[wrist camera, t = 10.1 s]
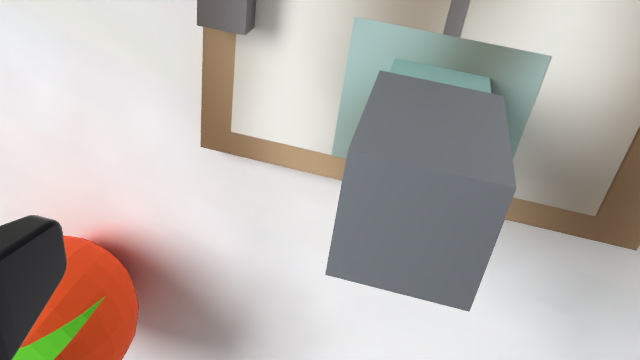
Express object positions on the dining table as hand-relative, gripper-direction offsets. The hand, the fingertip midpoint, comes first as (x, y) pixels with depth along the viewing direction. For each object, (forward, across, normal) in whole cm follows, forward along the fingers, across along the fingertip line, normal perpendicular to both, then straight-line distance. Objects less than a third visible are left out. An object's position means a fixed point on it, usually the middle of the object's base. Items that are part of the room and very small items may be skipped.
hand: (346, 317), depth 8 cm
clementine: (+12, +12, +13) cm, 22 cm away
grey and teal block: (+11, -1, +2) cm, 12 cm away
